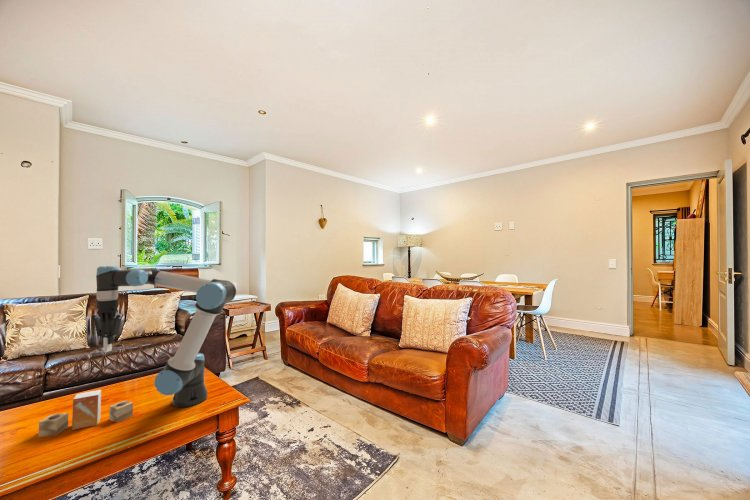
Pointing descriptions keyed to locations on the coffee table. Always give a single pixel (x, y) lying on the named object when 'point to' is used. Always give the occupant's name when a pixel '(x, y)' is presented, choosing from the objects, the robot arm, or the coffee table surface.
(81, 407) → the small box
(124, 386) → the coffee table surface
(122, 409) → the marked block
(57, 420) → the marked block
